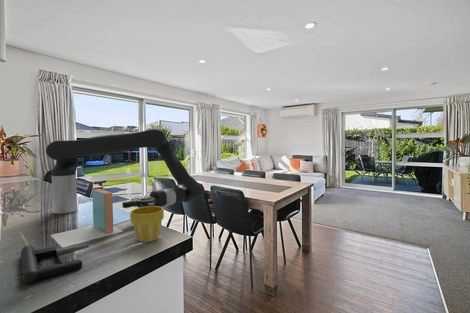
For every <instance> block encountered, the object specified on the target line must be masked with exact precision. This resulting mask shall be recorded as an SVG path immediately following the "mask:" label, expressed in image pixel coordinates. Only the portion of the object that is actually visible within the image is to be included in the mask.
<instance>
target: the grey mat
mask: <svg viewBox="0 0 470 313" xmlns="http://www.w3.org/2000/svg"><path fill="white" fill-rule="evenodd" d="M121 232H123V230H122V229H121V228H119V227H117V226H115V225H113V232H112V233H109V234H105V233H103V232H102V231H100V230H99V229H97V228H95V227H94V226H93V225H89V226H85V227H79V228H75V229H71V230H65V231H63V232H59V233H52V234H50V237H51V238H52V239H53V240H54V241H55V242H56V243H57V244H58V245H59V246H60V247H61V248H66V247H71V246H76V245H79V244H81V243H82V244H83V243H86V242H89V241H92V240H96V239H99V238H103V237H104V238H105V237H107V236H112V235H114V234H115V235H116V234H118V233H121Z"/></svg>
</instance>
